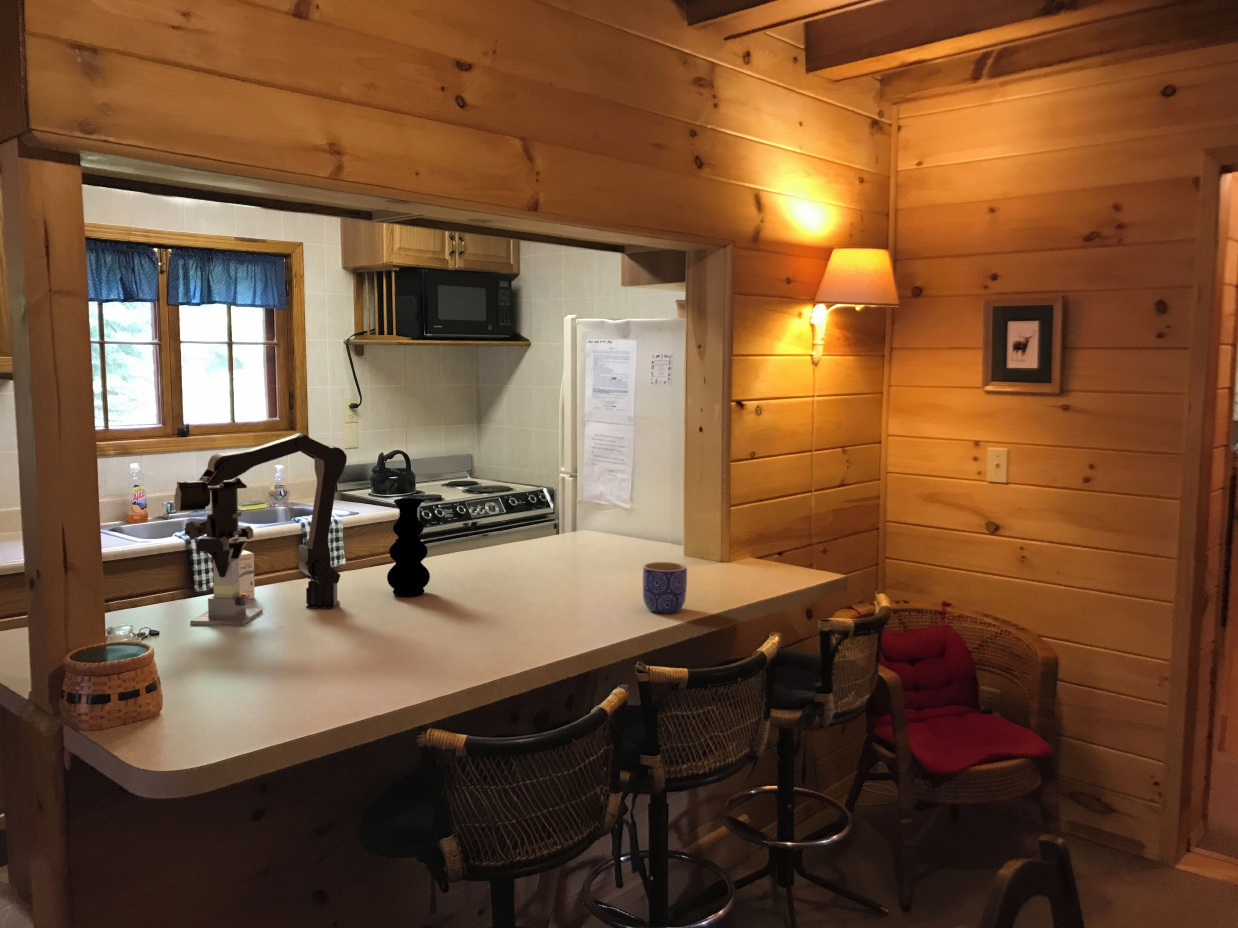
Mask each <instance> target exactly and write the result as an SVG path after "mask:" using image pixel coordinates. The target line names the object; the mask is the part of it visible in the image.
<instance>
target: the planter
mask: <svg viewBox="0 0 1238 928" xmlns="http://www.w3.org/2000/svg"><path fill="white" fill-rule="evenodd" d="M687 585H688V567H687V566H686V565H685V564H682V563H677V562H671V561H670V562H667V561H658V562H657V561H656V562H648V563H646V564H645V563H644V565H643V567H642V599H643V602H644V605H645V607H646V608H647V609H648V610H649V611H650V612H652V613H656V614H660V615H661V614H662V615H663V614H664V615H666V614H667V615H668V614H670V615H671V614H675V613H678V612H679V611H681V609H682V608H683V607H684V605H685V604H686V600H687V591H688V590H687V589H688V588H687V587H688V586H687Z"/></svg>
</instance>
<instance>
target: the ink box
mask: <svg viewBox="0 0 1238 928" xmlns="http://www.w3.org/2000/svg"><path fill="white" fill-rule="evenodd" d="M254 560H255V553H254V552H251V551H248V550H245V549H243V551H242V553H241V556H240V558H239V582H240V590H239V593H246V594H247V595H249V600H250V599H254V598H255V597H256V596H255V561H254Z"/></svg>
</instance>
